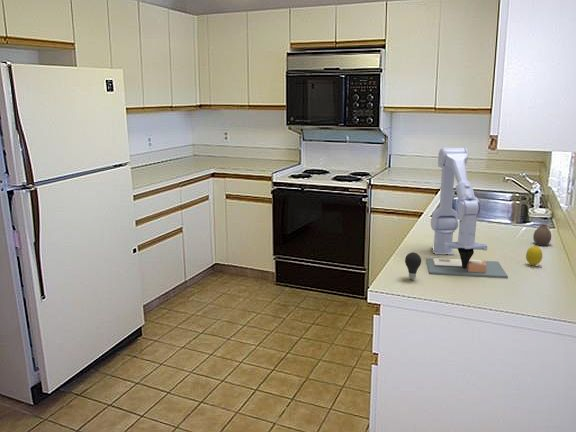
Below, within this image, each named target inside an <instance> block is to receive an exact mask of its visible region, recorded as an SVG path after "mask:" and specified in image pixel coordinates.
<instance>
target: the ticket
mask: <svg viewBox="0 0 576 432" xmlns="http://www.w3.org/2000/svg"><path fill="white" fill-rule="evenodd" d="M433 261H434V265H435V266H436V267H455V268H462V262H461V258H459V259H458V258H438V257H436V258H435V257H433ZM469 261H482V259H481V260H480V259H479V260H478V259H470V260H469Z"/></svg>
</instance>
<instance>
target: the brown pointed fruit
mask: <svg viewBox="0 0 576 432" xmlns="http://www.w3.org/2000/svg"><path fill="white" fill-rule="evenodd" d="M532 236H533V237H532V239H533V242H534V243H535V245H536V246H537V245H538V246H540V247H546V246H547V245H549V244H550V243H551V240H552V233H551V231H550V229H549V228H548V225H547V224H545V223H544V224H540V225H539V226H538V227H537V229H536V230H534V232H533V235H532Z"/></svg>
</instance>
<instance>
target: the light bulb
mask: <svg viewBox="0 0 576 432" xmlns="http://www.w3.org/2000/svg"><path fill="white" fill-rule="evenodd" d="M404 263H405V266H406V267H407V270H408V279H410V280H411V279H414V280H416V278H417V273H418V270H419V268H420V266H421V264H422V257H421V256H420V254H418V253H417V252H409V253H407V255H406V256H405V258H404Z"/></svg>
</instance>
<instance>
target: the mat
mask: <svg viewBox="0 0 576 432" xmlns="http://www.w3.org/2000/svg"><path fill="white" fill-rule="evenodd" d="M433 258H434V257H433ZM433 258H431V257H426V258H425V261H427V262H426V266H427V265H428V266H427V270H428V274H429V275H437V276H438V275H439V276H456V277H457V276H458V277H475V278H476V277H477V278H478V277H479V278H493V279H494V278H495V279H508V278H509V275H508V274H507V273H506V271H505V270H504V268H503V266H502V265H501V263H500V262H499V261H496V260H495V261H492V260H483V261H484V262H485V263H486V273H479V272H468V270H467V268H466V269H463V268H455V267H436V266H435V265H434V261H433Z"/></svg>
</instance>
